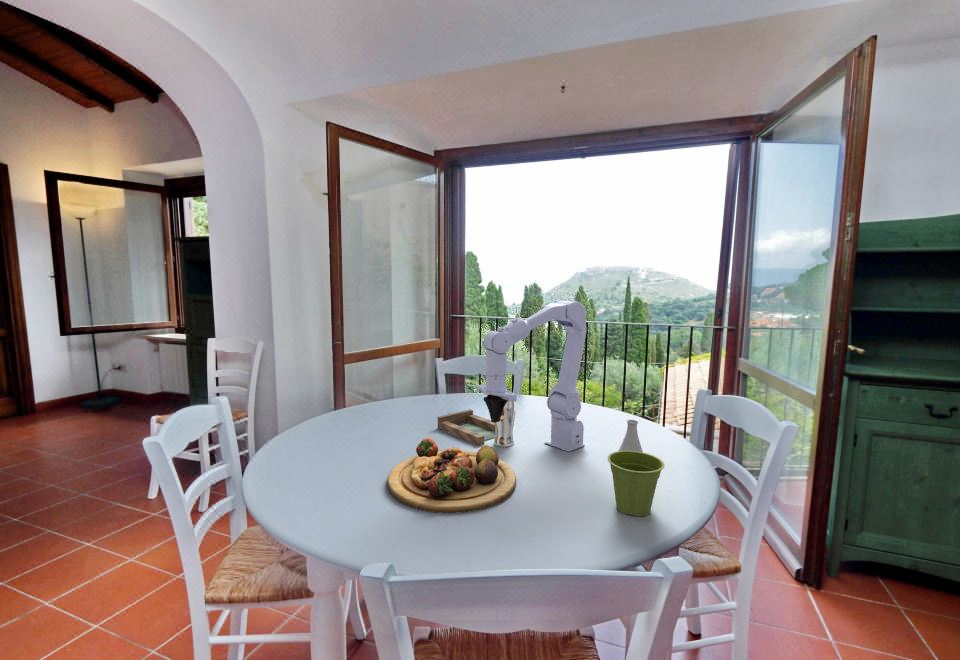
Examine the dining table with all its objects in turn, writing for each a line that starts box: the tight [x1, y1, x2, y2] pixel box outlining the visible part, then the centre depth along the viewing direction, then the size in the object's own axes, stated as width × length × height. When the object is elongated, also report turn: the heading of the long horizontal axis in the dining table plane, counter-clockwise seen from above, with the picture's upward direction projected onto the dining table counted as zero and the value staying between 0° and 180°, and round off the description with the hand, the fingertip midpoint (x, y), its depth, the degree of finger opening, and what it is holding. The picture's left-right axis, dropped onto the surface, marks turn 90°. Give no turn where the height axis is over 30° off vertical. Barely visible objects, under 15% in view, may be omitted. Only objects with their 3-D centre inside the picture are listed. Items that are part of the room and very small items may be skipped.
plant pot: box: [607, 450, 665, 517], centre depth 103 cm, size 12×12×11 cm
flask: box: [618, 419, 644, 453], centre depth 135 cm, size 7×7×10 cm
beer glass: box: [493, 400, 517, 448], centre depth 143 cm, size 7×7×15 cm
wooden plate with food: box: [386, 437, 517, 514], centre depth 116 cm, size 32×32×8 cm
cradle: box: [437, 409, 496, 446], centre depth 154 cm, size 21×14×4 cm
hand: (495, 421), depth 132 cm, fingers closed
